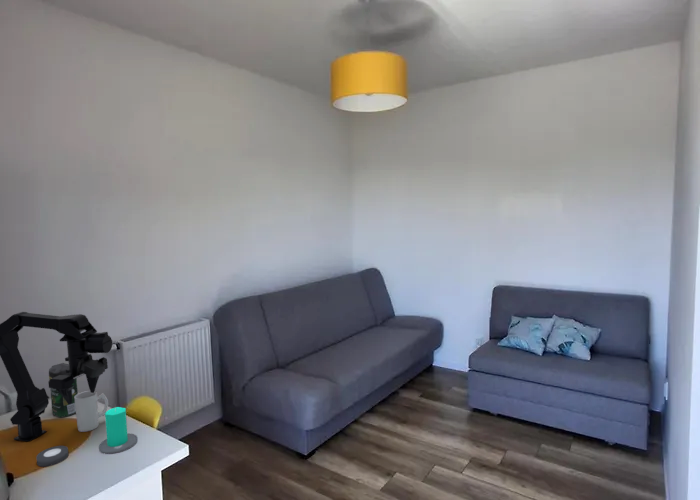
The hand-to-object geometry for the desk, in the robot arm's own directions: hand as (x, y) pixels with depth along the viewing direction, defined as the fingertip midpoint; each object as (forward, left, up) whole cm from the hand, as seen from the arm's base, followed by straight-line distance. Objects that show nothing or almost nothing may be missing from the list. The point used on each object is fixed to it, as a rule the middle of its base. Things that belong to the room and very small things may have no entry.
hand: (81, 398), depth 145 cm
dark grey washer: (+2, -14, -13) cm, 19 cm away
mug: (-2, +6, -13) cm, 15 cm away
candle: (+16, -3, -12) cm, 20 cm away
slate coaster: (+16, -3, -13) cm, 21 cm away
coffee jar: (-21, +13, -13) cm, 28 cm away
